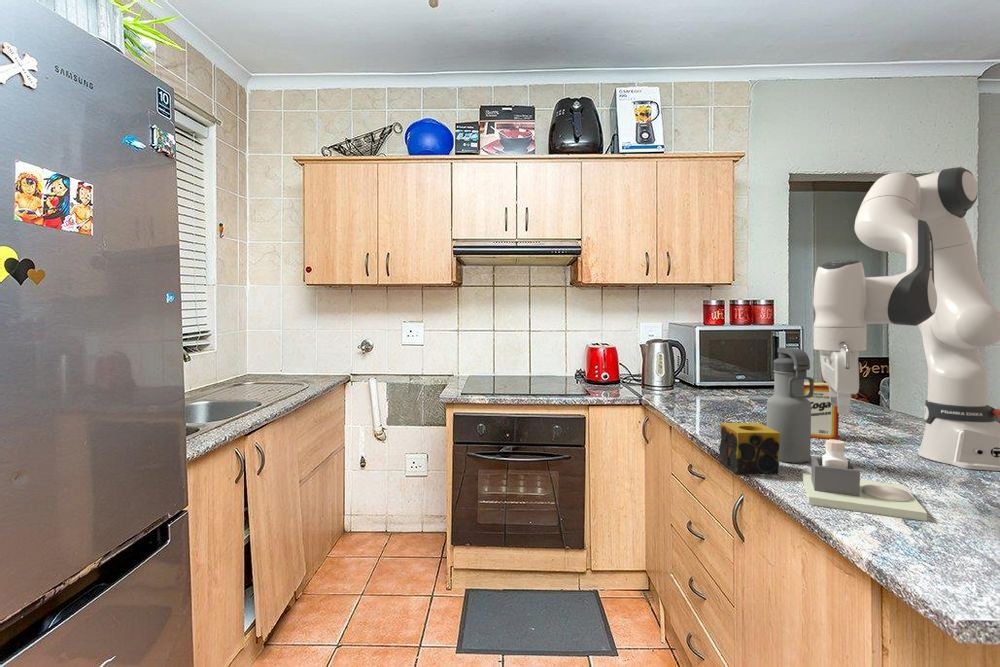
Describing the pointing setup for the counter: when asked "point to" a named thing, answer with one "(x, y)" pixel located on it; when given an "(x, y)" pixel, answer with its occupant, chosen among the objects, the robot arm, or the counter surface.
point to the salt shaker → (835, 454)
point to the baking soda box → (822, 412)
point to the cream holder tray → (858, 492)
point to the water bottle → (791, 405)
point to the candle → (749, 448)
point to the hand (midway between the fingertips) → (839, 409)
